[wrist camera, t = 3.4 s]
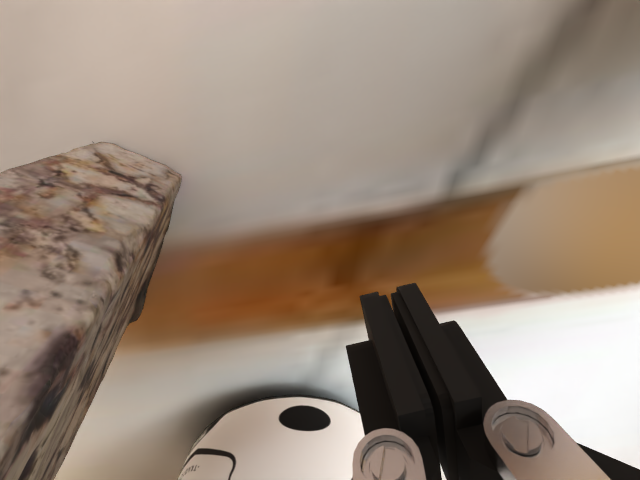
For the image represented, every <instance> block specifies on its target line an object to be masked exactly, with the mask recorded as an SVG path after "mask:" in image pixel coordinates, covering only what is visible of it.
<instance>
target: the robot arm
mask: <svg viewBox="0 0 640 480" xmlns="http://www.w3.org/2000/svg"><path fill="white" fill-rule="evenodd" d="M396 290H397V292H395V293H391V299H392V305H393V310H392V308H391V305H390V303H389V301H388V298H387V296H386V295H383V296H379V294H378V292H374V293H370V294H366V295H361V296H360V300H361V305H362V310H363V314H364V319H365V324H366V328H367V333H368V338H369V341H364V342H360V343H356V344H352V345H347V346H346V349H347V354H348V359H349V364H350V368H351V373H352V378H353V383H354V387H355V392H356V397H357V401H358V406H359V411H360V416H361V420H362V425H363V430H364V434H365V436H364V437H363V438H362V439H361V441H360V442H359V443H358V445H357V447H356V449H355V451H354V455H353V463H352V467H353V477H352V479H351V480H442V478H441V469H440V464H441V466H442V469H443V472H444V474H445V477H446V479H447V480H640V470H639V469H637V468H635V467H632V466H630V465H628V464H625V463H623V462H621V461H618V460H616V459H614V458H611V457H609V456H607V455H604V454H602V453H600V452H597V451H595V450H592V449H590V448H588V447H585V446H583V445H581V444H578V443H576V442H575V441H574V440H573V439H572V438H571V437H570V436H569V435H568V434H567V433H566V432H565V431H564V430H563V428H562V427H561V426H560V425H559V424H558V423H557V422H556V421H555V420H554V419H553V418H552V417H551V416H550V415H548V414H547V413H546V412H545V411H544V410H542V409H540V408H539V407H537V406H535V405H533V404H531V403H527V402H524V401H520V400H507V398H506V397H505V395H504V394H503V392H502V391H501V389H500V388H499V386H498V385H497V383H496V382H495V380H494V378H493V377H492V375H491V374H490V372H489V371H488V369H487V368H486V366H485V365H484V363H483V362H482V360H481V358H480V357H479V355H478V354H477V352H476V351H475V349H474V348H473V346H472V345H471V343H470V342H469V340H468V338H467V337H466V335H465V334H464V332H463V331H462V329H461V328H460V326H459V325H458V324H457V322H455V321H450V322H446V323H441V324H439V322H438V321H437V319H436V317H435V315H434V314H433V312H432V310H431V309H430V307H429V305H428V303H427V302H426V300H425V298H424V297H423V295H422V293H421V291H420V290H419V288H418V286H417V285H416V283H412V284H408V285H404V286H399V287H397V289H396ZM393 311H394V312H393Z"/></svg>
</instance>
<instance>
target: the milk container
mask: <svg viewBox="0 0 640 480" xmlns="http://www.w3.org/2000/svg"><path fill="white" fill-rule="evenodd" d="M364 436H365V434H364V430H363V425H362V420H361V416H360V412H358V411H357V410H355V409H353V408H351V407H349V406H347V405H345V404H343V403H340V402H337V401H335V400H331V399H326V398H320V397H314V396H305V395H289V396H278V397H270V398H263V399H260V400H256V401H253V402H250V403H247V404H245V405H242V406H239V407H237V408H234V409H232V410H230V411H228V412H227V413H225V414H224V415H222V416H221V417H219V418H218V419H217V420H215V421H214V422H213V423H212V424H210V425H209V426H208V427H207V428H206V429H205V430H204V431H203V433H202V434H201V435H200V436H199V438H198V439H197V440H196V442H195V443H194V445H193V446H192V448H191V450H190V452H189V454H188V457H187V459H186V461H185V463H184V465H183V468H182V470H181V473H180V475H179V478H178V480H351V479H352V477H353V467H352V463H353V455H354V451H355V449H356V447H357V445H358V443H359V442H360V441H361V439H362V438H363V437H364Z"/></svg>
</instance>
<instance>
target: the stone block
mask: <svg viewBox="0 0 640 480" xmlns="http://www.w3.org/2000/svg"><path fill="white" fill-rule="evenodd" d="M92 142H93V141H92ZM93 143H94V142H93ZM181 180H182V176H181V175H180V174H178V173H176V172H174V171H173V170H171V169H170V168H168V167H167V166H166V165H163V164H161V163H158V162H155V161H153V160H150V159H148V158H146V157H144V156H142V155H139V154H136V153H134V152H130V151H127V150H125V149H123V148H121V147H119V146H117V145H115V144H111V143H105V142H99V143H97V144H90V145H87V146H83V147H79V148H76V149H73V150H72V151H70V152H67V153H61V154H59V155H56V156H51V157H48V158H45V159H41V160H38V161H36V162H33V163H30V164H26V165H22V166H19V167H15V168H12V169H9V170H6V171H4V172H1V173H0V480H54V478H55V476H56V474H57V472H58V470H59V468H60V467H61V465H62V463H63V461H64V459H65V457H66V455H67V453H68V451H69V449H70V447H71V444H72V442H73V440H74V438H75V436H76V433H77V431H78V429H79V427H80V425H81V423H82V421H83V419H84V417H85V415H86V413H87V411H88V409H89V407H90V405H91V403H92V400H93V398H94V396H95V394H96V392H97V390H98V387H99V385H100V383H101V382H102V380H103V378H104V376H105V374H106V371H107V369H108V367H109V365H110V363H111V361H112V359H113V357H114V354H115V351H116V349H117V346H118V344H119V342H120V339H121V337H122V335H123V333H124V331H125V330H126V328H127V326H128V325H129V323H131V322H134V321H136V320H137V319H138V318H139V316H140V314H141V312H142V309H143V306H144V302H145V297H146V293H147V288H148V285H149V282H150V279H151V277H152V274H153V271H154V268H155V265H156V262H157V259H158V256H159V253H160V250H161V247H162V244H163V240H164V236H165V234H166V232H167V230H168V227H169V223H170V218H171V213H172V209H173V203H174V199H175V197H176V195H177V193H178V191H179V188H180V185H181Z"/></svg>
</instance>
